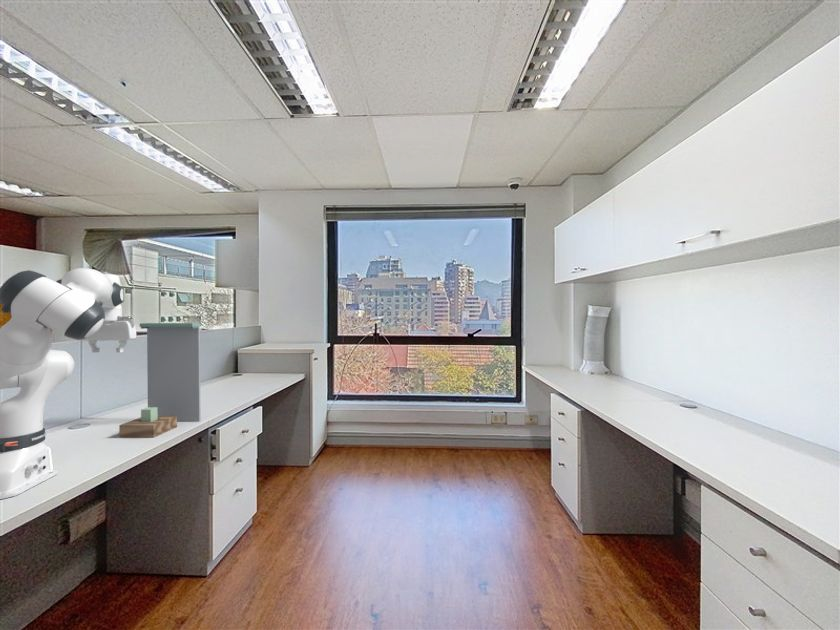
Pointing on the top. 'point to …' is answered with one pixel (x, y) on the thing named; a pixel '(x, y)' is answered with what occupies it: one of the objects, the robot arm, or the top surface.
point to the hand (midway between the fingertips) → (107, 352)
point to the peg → (149, 414)
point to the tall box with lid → (174, 369)
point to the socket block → (147, 427)
